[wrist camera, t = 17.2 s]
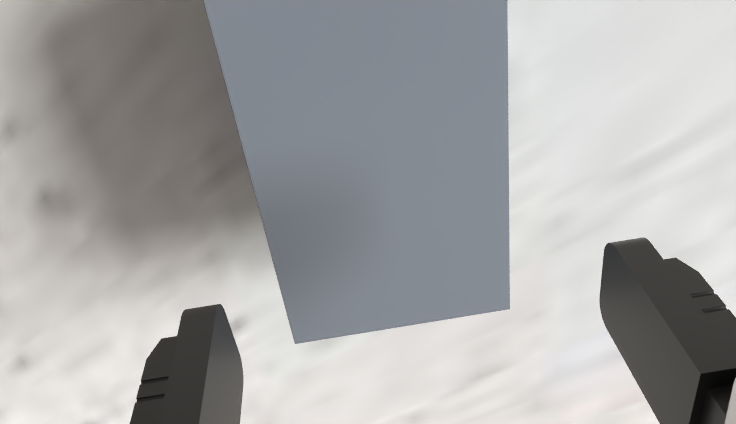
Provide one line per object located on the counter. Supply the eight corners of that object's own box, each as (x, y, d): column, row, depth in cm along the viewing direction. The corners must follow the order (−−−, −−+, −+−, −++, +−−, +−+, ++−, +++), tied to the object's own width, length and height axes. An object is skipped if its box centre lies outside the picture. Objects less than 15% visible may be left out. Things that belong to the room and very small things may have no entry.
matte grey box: (436, -118, 22) (506, -70, 15) (454, 176, 29) (509, 309, 22) (229, -85, 22) (197, -22, 15) (294, 201, 29) (295, 344, 21)
